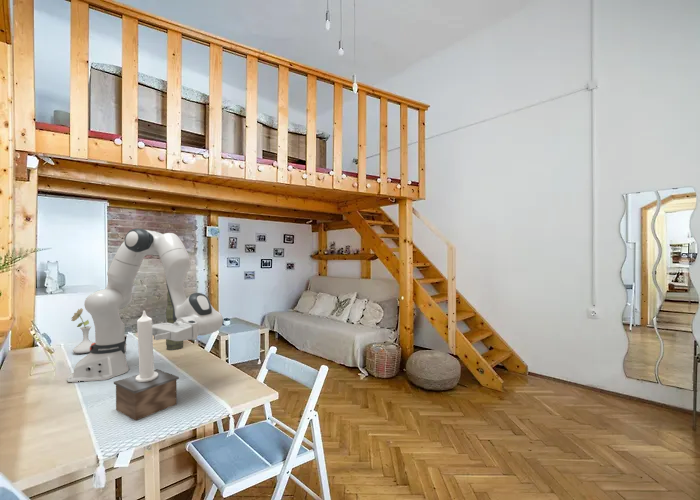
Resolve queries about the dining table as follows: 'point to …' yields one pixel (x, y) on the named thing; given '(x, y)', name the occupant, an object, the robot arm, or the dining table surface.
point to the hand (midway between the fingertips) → (147, 335)
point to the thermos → (169, 316)
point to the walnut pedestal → (146, 395)
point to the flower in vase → (85, 344)
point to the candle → (145, 349)
